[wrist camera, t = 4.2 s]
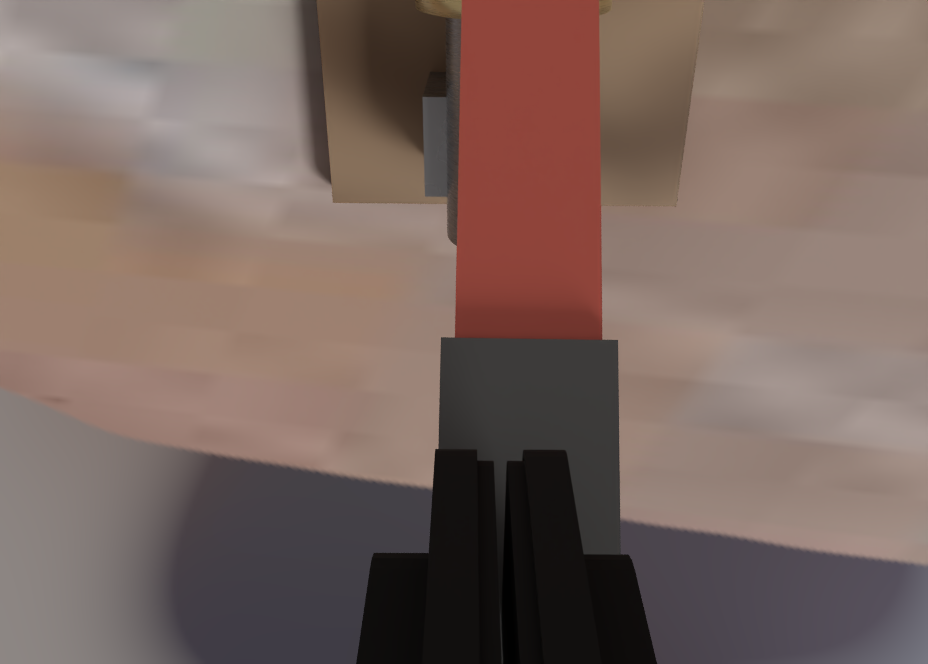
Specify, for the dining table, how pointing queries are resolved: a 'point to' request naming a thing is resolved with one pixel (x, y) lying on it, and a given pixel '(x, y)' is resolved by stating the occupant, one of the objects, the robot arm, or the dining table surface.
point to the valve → (448, 111)
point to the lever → (533, 258)
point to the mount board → (424, 50)
